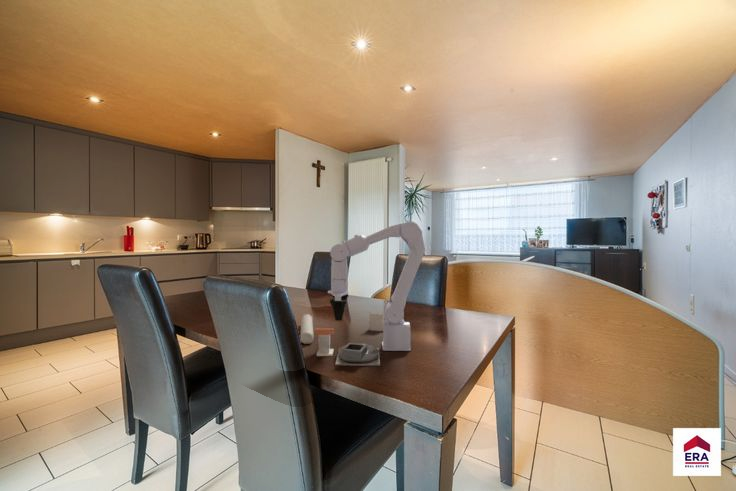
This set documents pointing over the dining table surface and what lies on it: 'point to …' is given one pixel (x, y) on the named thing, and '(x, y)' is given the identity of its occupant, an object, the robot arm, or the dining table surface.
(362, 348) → the grey base plate
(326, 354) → the felt pad
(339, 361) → the chuck base
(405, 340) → the robot arm
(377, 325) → the grey square block
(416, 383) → the dining table surface
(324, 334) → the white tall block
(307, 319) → the tube
